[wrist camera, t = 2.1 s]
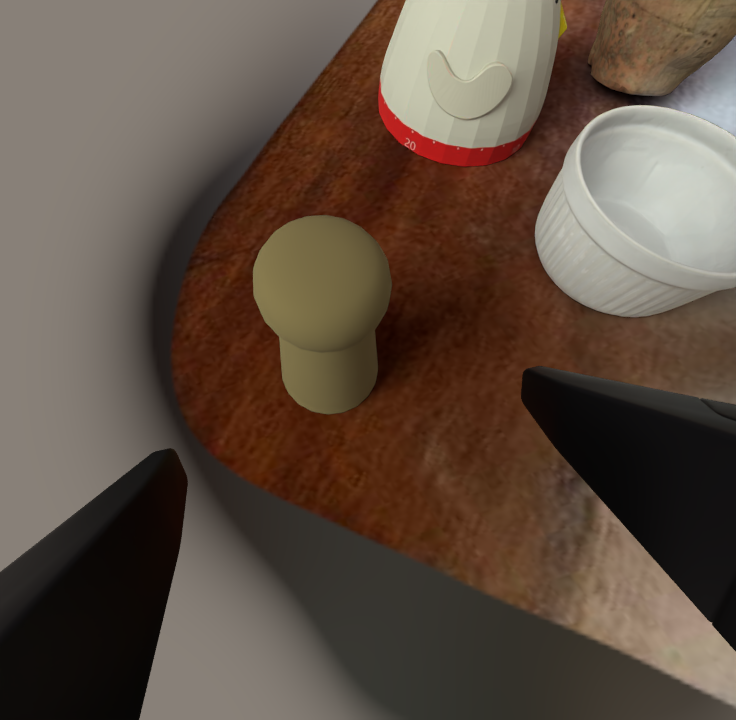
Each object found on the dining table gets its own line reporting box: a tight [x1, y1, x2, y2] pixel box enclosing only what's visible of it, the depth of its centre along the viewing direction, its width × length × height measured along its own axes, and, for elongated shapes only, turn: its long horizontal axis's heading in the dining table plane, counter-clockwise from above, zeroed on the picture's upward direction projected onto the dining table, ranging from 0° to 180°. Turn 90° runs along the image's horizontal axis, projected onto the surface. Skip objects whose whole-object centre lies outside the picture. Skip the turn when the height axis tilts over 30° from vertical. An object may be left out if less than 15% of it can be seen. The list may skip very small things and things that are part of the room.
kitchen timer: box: [378, 0, 567, 167], centre depth 25 cm, size 14×14×15 cm
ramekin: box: [535, 105, 736, 317], centre depth 24 cm, size 13×13×7 cm
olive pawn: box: [253, 215, 392, 414], centre depth 17 cm, size 6×6×11 cm
